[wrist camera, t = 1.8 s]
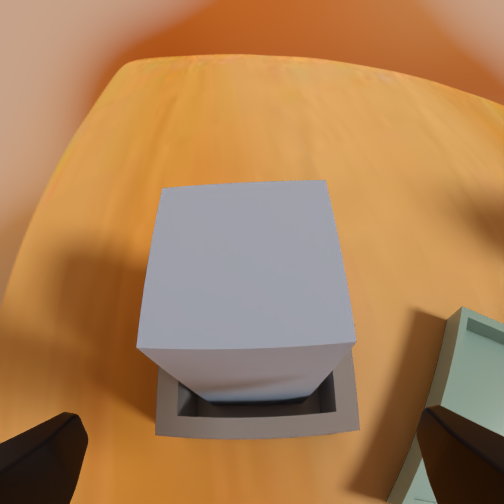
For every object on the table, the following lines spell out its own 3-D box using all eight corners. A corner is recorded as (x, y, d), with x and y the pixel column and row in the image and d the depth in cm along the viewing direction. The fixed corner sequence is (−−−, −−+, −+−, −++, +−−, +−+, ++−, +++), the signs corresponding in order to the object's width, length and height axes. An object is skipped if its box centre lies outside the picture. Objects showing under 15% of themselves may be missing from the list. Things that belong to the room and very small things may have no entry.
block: (302, 403, 17) (356, 341, 7) (214, 406, 17) (136, 347, 7) (296, 323, 20) (325, 180, 10) (215, 326, 20) (162, 188, 10)
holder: (336, 433, 16) (359, 429, 12) (182, 437, 16) (155, 435, 12) (323, 297, 21) (337, 256, 17) (188, 302, 21) (169, 263, 17)
